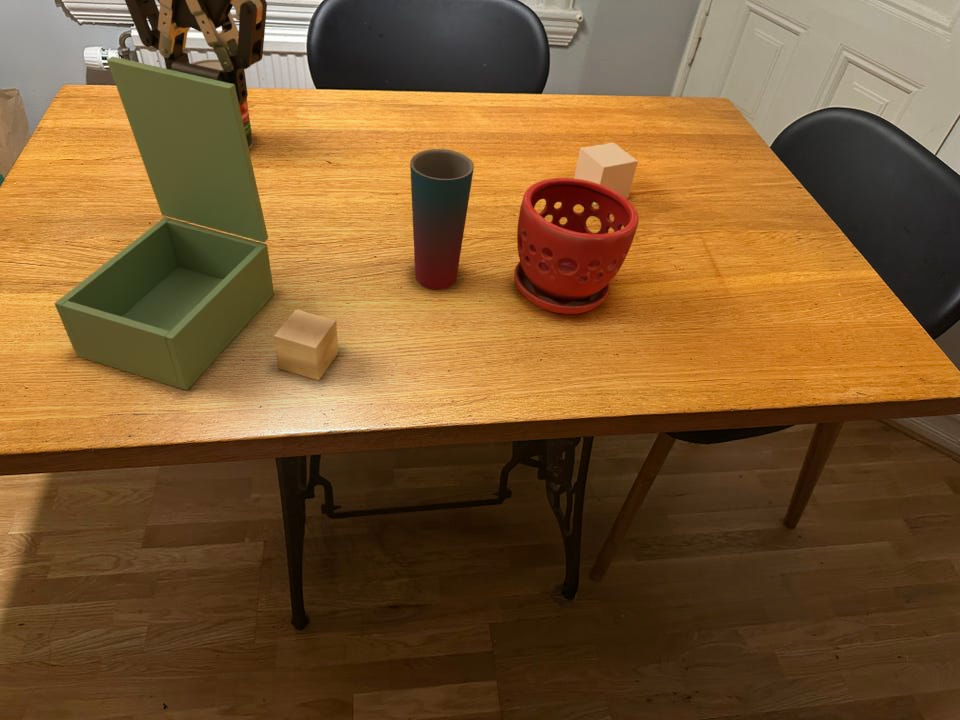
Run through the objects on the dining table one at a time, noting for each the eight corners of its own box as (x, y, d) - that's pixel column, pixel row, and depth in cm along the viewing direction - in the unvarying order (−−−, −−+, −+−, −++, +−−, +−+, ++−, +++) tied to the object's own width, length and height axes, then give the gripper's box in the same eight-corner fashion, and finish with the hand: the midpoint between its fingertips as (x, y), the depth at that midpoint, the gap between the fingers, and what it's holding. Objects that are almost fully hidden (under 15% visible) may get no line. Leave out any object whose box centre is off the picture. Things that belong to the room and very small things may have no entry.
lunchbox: (187, 390, 68) (172, 338, 63) (76, 356, 70) (53, 303, 65) (274, 294, 79) (267, 244, 75) (177, 267, 81) (164, 216, 77)
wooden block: (318, 380, 70) (315, 348, 67) (278, 368, 71) (273, 335, 68) (338, 352, 73) (336, 320, 70) (300, 341, 74) (296, 308, 71)
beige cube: (604, 179, 107) (613, 142, 102) (628, 198, 103) (638, 160, 99) (572, 185, 104) (580, 147, 100) (594, 205, 100) (604, 167, 96)
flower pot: (588, 339, 79) (612, 251, 70) (489, 295, 83) (500, 207, 75) (632, 284, 87) (657, 199, 79) (540, 246, 91) (555, 162, 83)
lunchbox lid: (230, 88, 61) (259, 63, 64) (106, 59, 63) (140, 37, 66) (264, 243, 74) (287, 216, 77) (161, 215, 76) (187, 190, 79)
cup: (415, 297, 81) (419, 182, 71) (401, 264, 86) (403, 151, 76) (470, 290, 83) (482, 177, 73) (454, 257, 88) (463, 146, 78)
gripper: (68, -110, 56) (122, 98, 67) (227, -81, 54) (255, 130, 65) (130, -122, 61) (170, 73, 73) (277, -96, 59) (294, 101, 70)
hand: (210, 99), depth 69 cm, fingers closed on lunchbox lid, 5 cm apart
